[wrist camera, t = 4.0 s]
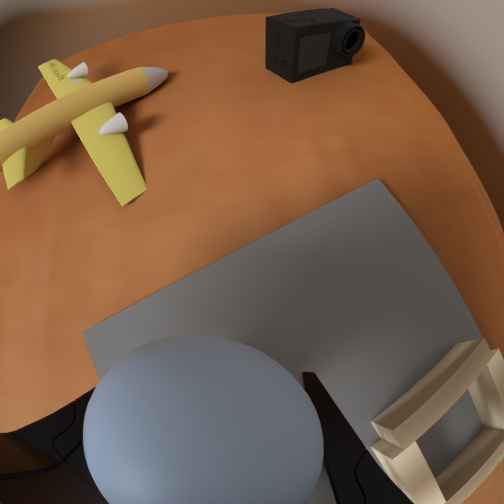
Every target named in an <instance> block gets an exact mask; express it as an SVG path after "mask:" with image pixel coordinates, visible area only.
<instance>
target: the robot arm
mask: <svg viewBox="0 0 504 504" xmlns="http://www.w3.org/2000/svg"><path fill="white" fill-rule="evenodd" d="M299 383H300V385H301V386H302V387H303V389H304V390H305V392H306V393H307V394H308V396H309V398H310V399H311V401H312V403H313V405H314V407H315V409H316V412H317V415H318V417H319V420H320V424H321V429H322V434H323V449H324V456H323V463H322V469H321V472H320V476H319V479H318V482H317V484H316V487H315V489H314V491H313V493H312V495H311V496H310V498H309V500H308V501H307V503H306V504H414V503H413V502H412V501H411V500H410V499H409V498H408V497H407V496H406V495H405V493H404V492H403V491H402V490H401V489H400V488H399V487H398V486H397V485H396V484H395V483H394V482H393V481H392V480H391V479H390V478H389V477H388V475H387V474H386V473H385V472H384V471H383V470H382V469H381V467H380V466H379V465H378V463H377V462H376V461H375V459H374V458H373V457H372V455H371V454H370V452H369V451H368V449H366V447H365V445H364V444H363V442H362V441H361V439H360V438H359V437H358V435H357V434H356V432H355V431H354V429H353V428H352V426H351V425H350V424H349V422H348V421H347V419H346V418H345V416H344V415H343V413H342V412H341V410H340V409H339V407H338V406H337V405H336V403H335V402H334V400H333V399H332V397H331V396H330V394H329V393H328V391H327V390H326V388H325V387H324V385H323V384H322V382H321V381H320V380H319V378H318V377H317V375H316V374H315V373H314V372H305V371H303V372H302V373H301V375H300V378H299ZM95 388H96V387H94V388H93V389H91V390H90V391H88V392H87V393H85V394H84V395H82V396H80V397H79V398H77V399H76V400H75V401H72V402H71V403H69V404H68V405H66V406H64V407H63V408H61V409H59V410H58V411H56V412H54V413H52V414H50V415H48V416H46V417H44V418H42V419H40V420H38V421H36V422H34V423H31V424H29V425H27V426H25V427H22V428H20V429H18V430H15V431H12V432H8V433H0V504H109V503H108V501H107V500H106V499H105V497H104V496H103V495H102V493H101V492H100V490H99V489H98V487H97V485H96V483H95V482H94V480H93V478H92V475H91V473H90V471H89V468H88V465H87V461H86V458H85V453H84V446H83V424H84V417H85V412H86V409H87V406H88V402H89V400H90V398H91V396H92V394H93V392H94V390H95Z"/></svg>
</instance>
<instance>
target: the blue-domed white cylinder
mask: <svg viewBox="0 0 504 504" xmlns="http://www.w3.org/2000/svg"><path fill="white" fill-rule="evenodd" d="M83 446H84V453H85V458H86V461H87V465H88V468H89V471H90V473H91V475H92V478H93V480H94V482H95V483H96V485H97V487H98V489H99V490H100V492H101V493H102V495H103V496H104V497H105V499H106V500H107V501H108V503H109V504H306V503H307V501H308V500H309V498H310V496H311V495H312V493H313V491H314V489H315V487H316V484H317V482H318V479H319V476H320V472H321V469H322V463H323V456H324V449H323V434H322V429H321V424H320V420H319V417H318V415H317V412H316V409H315V407H314V405H313V403H312V401H311V399H310V398H309V396H308V394H307V393H306V392H305V390H304V389H303V387H302V386H301V385H300V383H299V382H298V381H297V380H296V379H295V378H294V377H293V376H292V375H291V374H290V372H289V371H288V370H286V369H285V368H284V367H283V366H282V365H280V364H279V363H278V362H277V361H275V360H274V359H272V358H271V357H269V356H268V355H266V354H265V353H263V352H261V351H259V350H257V349H255V348H253V347H251V346H248V345H246V344H243V343H240V342H237V341H234V340H230V339H225V338H221V337H216V336H207V335H182V336H174V337H169V338H165V339H161V340H157V341H154V342H151V343H149V344H146V345H144V346H141V347H139V348H137V349H135V350H134V351H132V352H130V353H129V354H127V355H126V356H124V357H123V358H122V359H121V360H119V361H118V362H117V363H116V364H114V365H113V366H112V367H111V368H110V369H109V370H108V371H107V373H106V374H105V375H104V376H103V377H102V379H101V380H100V382H99V383H98V384H97V386H96V388H95V390H94V392H93V394H92V396H91V398H90V400H89V402H88V406H87V409H86V412H85V417H84V424H83Z"/></svg>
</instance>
